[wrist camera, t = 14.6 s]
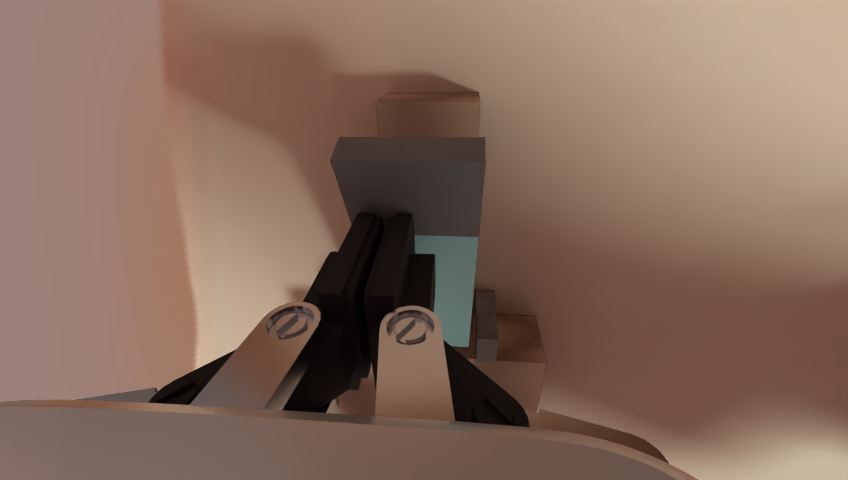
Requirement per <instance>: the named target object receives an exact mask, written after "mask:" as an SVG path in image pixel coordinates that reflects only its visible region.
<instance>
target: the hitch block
mask: <svg viewBox="0 0 848 480" xmlns="http://www.w3.org/2000/svg"><path fill="white" fill-rule="evenodd" d="M376 112H377V123H378V134H379V137H478V135H479V115H480V97H479V92H466V93H387V94H385V95H384V96H383V97H382V98H381V99H379V100H378V101H377V102H376ZM452 347H453V348H454V349H455V350H457V351H458V352H459V353H460V354H461V355H463V356H464V357H465V358H466V359H467V360H469V361H470V362H471V363H472V364H474V365H475V366H476V367H477V368H478V369H480V370H481V371H482V372H483V373H484V374H486V375H487V376H488V377H489V378H490V379H492V380H493V381H494V382H495V383H497V384H498V385H499V386H500V387H501V388H503V389H504V390H505V391H506V392H507V393H509V394H510V395H511V396H512V397H513V398H515V399H516V400H517V401H518V403H519V404H520V405H521V406H522V407H523V409H524V410H527V411H531V412H534V413H536V411H537V406H538V402H539V397H540V392H541V388H542V383H543V379H544V374H545V370H546V365H547V363H546V358H545V354H544V350H543V346H542V341H541V337H540V333H539V328H538V324H537V320H536V316H518V315H499V314H496V310H495V300H494V291H491V290H476V300H475V313H472V315H471V326H470V337H469V347H458V346H452ZM375 406H376V389H375V382H374V375H373V368H372V364H371V368H370V372H369V376H368V378H362V379H361V383H360V386H359V390H347V391H346V392H344V393H343V394H341V395H340V403H339V406H338V409H337V411H336V413H337V414H351V415H366V416H375Z"/></svg>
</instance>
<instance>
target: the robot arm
mask: <svg viewBox="0 0 848 480" xmlns="http://www.w3.org/2000/svg"><path fill="white" fill-rule="evenodd" d="M435 283H436V262H435V254H415V235H414V220H413V214H395V217H394V218H389V219H388V222H387V225H386V228H385V231H384V224H383V219H382V218H377V217H376V213H358V214H357V216H356V218H355V220H354V222H353V224H352V226H351V228H350V230H349V232H348V234H347V236H346V238H345V239H344V241H343V243H342V245H341V247H340V249H339V251H338V252H330V254H329V255H328V257H327V258H326V260H325V262H324V264H323V266H322V268H321V270H320V271H319V273H318V275H317V277H316V279H315V281H314V282H313V284H312V286H311V288H310V290H309V292H308V293H307V295H306V297H305V299H304V301H303V302H292V303H287V304H284V305H282V306H279V307H277V308H275V309H274V310H272V311H270V312H269V313H268V314H267V315H266V316H265V317H264V318H263V319H262V320H261V321H260V322H259V324H258V325H257V326H256V327H255V328H254V330H253V331H252V332H251V333H250V334H249V335H248V337H247V338H246V339H245V340H244V341H243V342H242V344H241V345H240V346H239V347H238V348H237V349H236V350H234V351H232V352H230V353H228V354H226V355H224V356H222V357H220V358H218V359H216V360H214V361H212V362H210V363H208V364H206V365H204V366H202V367H200V368H198V369H196V370H194V371H192V372H190V373H188V374H186V375H185V376H182V377H180V378H178V379H176V380H175V381H173V382H171V383H169V384H168V385H166V386H164V387H163V388H162V389H161V390H160V391H158V390H157V389H156V388H150V389H144V390H136V391H130V392H123V393H117V394H110V395H103V396H97V397H90V398H84V399H77V400H62V399H61V400H17V401H6V402H5V401H4V402H0V480H698V479H696V478H694V477H693V476H691V475H689V474H688V473H686V472H684V471H682V470H680V469H678V468H676V467H674V466H672V465H670V464H669V462H668V461H667V460H666V458H665V457H664V456H663V455H662V454H661V452H660V451H659V450H658V449H657V448H656V447H654V446H653V445H652V444H650V443H649V442H648V441H646V440H645V439H642V438H640V437H638V436H635V435H633V434H630V433H626V432H622V431H619V430H615V429H611V428H608V427H604V426H600V425H597V424H593V423H589V422H586V421H582V420H579V419H575V418H571V417H568V416H564V415H560V414H557V413H553V412H549V411H546V410H542V409H540V410H539V414H538V413H534V412H531V411H527V410H524V409H523V407H522V406H521V405H520V404H519V403H518V401H517V400H516V399H515V398H513V397H512V396H511V395H510V394H509V393H507V392H506V391H505V390H504V389H503V388H501V387H500V386H499V385H498V384H497V383H495V382H494V381H493V380H492V379H490V378H489V377H488V376H487V375H486V374H484V373H483V372H482V371H481V370H480V369H478V368H477V367H476V366H475V365H474V364H472V363H471V362H470V361H469V360H467V359H466V358H465V357H464V356H463V355H461V354H460V353H459V352H458V351H457V350H455V349H454V348H453V347H452V346H451V345H449V344H448V343H447V342H446V341H444V340H443V335H442V329H441V323H440V321H439V318H438V317H437V316H436V315H435V314H434V304H435ZM371 364H372V368H373V375H374V382H375V389H376V406H375V416H366V415H351V414H336V411H337V409H338V406H339V403H340V395H341V394H343V393H344V392H346V391H347V390H359V386H360V383H361V379H362V378H368V376H369V372H370V368H371Z"/></svg>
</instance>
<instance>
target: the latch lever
mask: <svg viewBox="0 0 848 480" xmlns="http://www.w3.org/2000/svg"><path fill="white" fill-rule="evenodd" d="M330 161H331V164H332V167H333V170H334V173H335V176H336V179H337V182H338V185H339V188H340V191H341V194H342V197H343V200H344V203H345V206H346V209H347V212H348V215H349V217H350V220H351V223H352V224H353V222H354V220H355V218H356V216H357V214H358V213H376V217H377V218H382V219H383V224H384V231H385V228H386V225H387V222H388V219H389V218H394V217H395V214H413V220H414V235H415V254H435V262H436V283H435V304H434V314H435V315H436V316H437V317H438V318H439V321H440V323H441V329H442V335H443V340H444V341H446V342H447V343H448V344H449V345H451V346H458V347H469V337H470V326H471V315H472V304H473V294H474V283H475V272H476V261H477V250H478V239H479V228H480V217H481V206H482V195H483V184H484V173H485V162H486V161H485V137H339V139H338V142H337V144H336V147H335V150H334V152H333V155H332V157H331V160H330Z"/></svg>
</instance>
